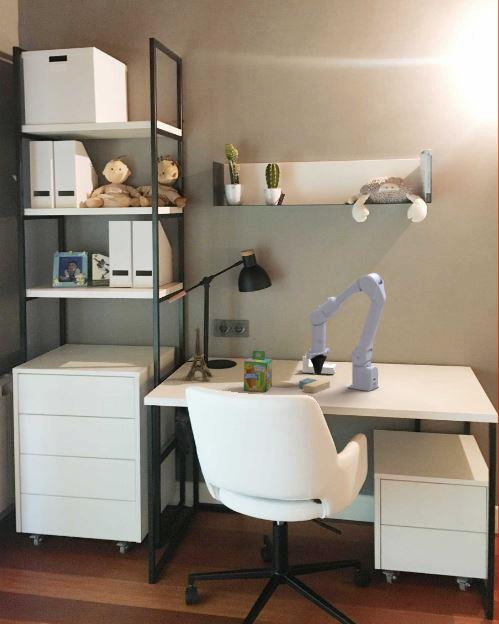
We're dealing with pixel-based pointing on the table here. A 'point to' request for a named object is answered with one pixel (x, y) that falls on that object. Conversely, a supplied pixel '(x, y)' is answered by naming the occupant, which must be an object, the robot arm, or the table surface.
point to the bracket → (326, 368)
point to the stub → (305, 382)
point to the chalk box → (258, 373)
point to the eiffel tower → (202, 365)
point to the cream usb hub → (316, 386)
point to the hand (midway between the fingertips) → (317, 373)
